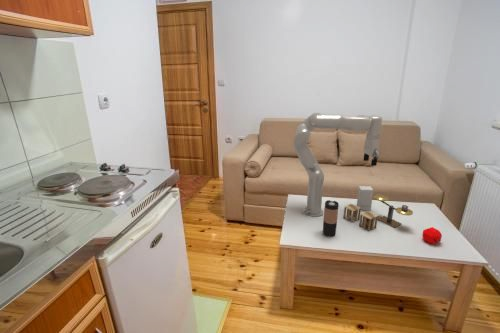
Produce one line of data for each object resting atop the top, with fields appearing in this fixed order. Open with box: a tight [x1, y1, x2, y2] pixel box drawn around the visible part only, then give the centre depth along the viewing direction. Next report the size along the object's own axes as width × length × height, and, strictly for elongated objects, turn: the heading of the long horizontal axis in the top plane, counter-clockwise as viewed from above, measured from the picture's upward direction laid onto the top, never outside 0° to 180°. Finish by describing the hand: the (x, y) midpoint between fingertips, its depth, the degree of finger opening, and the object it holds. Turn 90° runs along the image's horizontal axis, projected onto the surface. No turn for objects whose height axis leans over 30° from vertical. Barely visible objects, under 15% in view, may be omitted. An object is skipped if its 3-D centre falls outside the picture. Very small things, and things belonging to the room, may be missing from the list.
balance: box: [372, 193, 414, 229], centre depth 177 cm, size 9×25×15 cm, turn 33°
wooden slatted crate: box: [343, 203, 362, 223], centre depth 182 cm, size 7×7×8 cm
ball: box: [421, 226, 443, 245], centre depth 158 cm, size 8×8×8 cm
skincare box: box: [356, 185, 374, 211], centre depth 195 cm, size 8×7×16 cm
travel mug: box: [322, 200, 339, 238], centre depth 164 cm, size 8×8×20 cm
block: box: [362, 218, 372, 230], centre depth 173 cm, size 4×4×5 cm
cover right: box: [358, 210, 379, 232], centre depth 173 cm, size 7×7×8 cm
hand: (369, 163), depth 178 cm, fingers open, 9 cm apart
